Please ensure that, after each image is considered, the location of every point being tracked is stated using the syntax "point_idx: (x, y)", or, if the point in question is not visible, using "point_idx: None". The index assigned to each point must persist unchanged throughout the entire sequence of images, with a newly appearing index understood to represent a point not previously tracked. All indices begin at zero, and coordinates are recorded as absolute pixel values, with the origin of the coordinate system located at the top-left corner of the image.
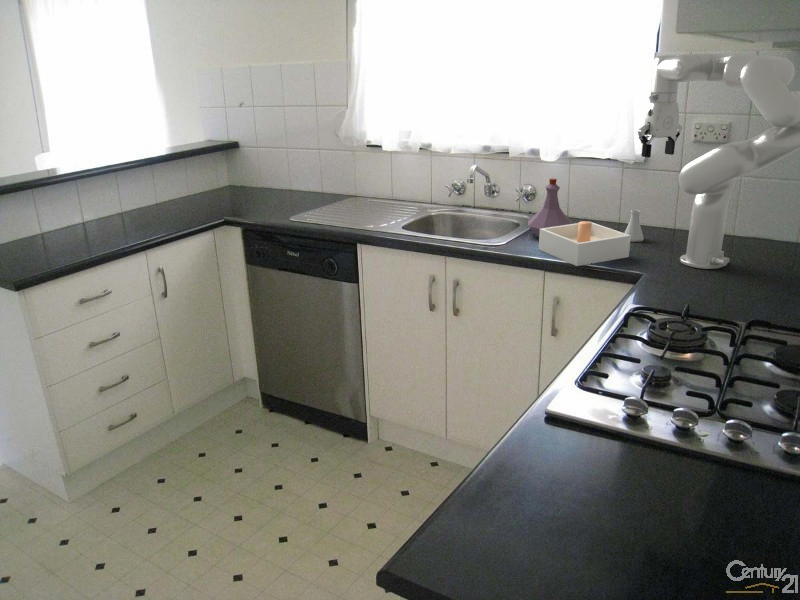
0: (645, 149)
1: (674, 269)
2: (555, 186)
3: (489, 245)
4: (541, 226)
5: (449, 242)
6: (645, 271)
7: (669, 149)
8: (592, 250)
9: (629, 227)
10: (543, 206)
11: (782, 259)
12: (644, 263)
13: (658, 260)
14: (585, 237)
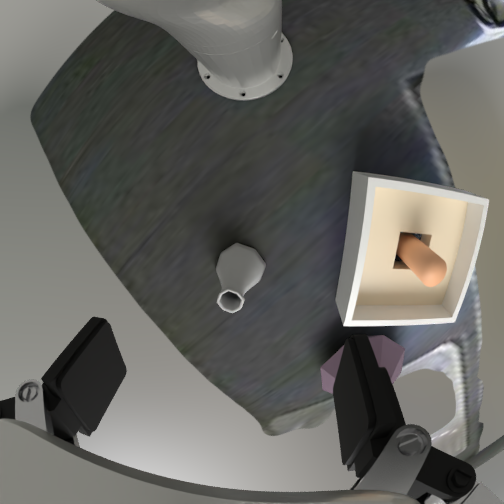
0: (393, 399)
1: (331, 60)
2: None
3: (457, 345)
4: (402, 356)
5: (469, 370)
6: (391, 86)
7: (100, 364)
8: (453, 189)
9: (252, 279)
10: None
11: (99, 37)
12: (357, 120)
13: (314, 117)
14: (428, 247)
